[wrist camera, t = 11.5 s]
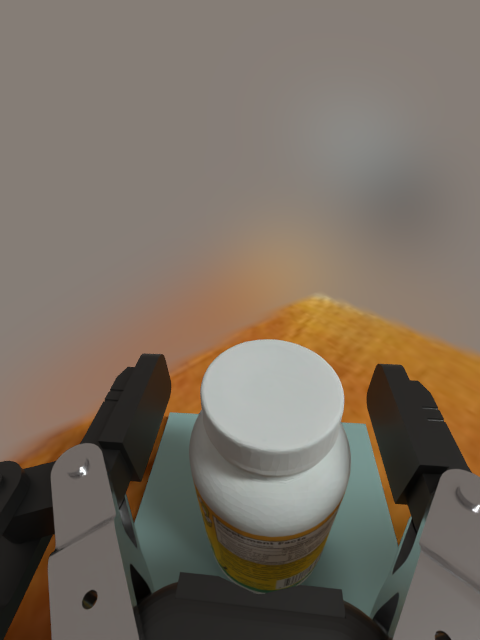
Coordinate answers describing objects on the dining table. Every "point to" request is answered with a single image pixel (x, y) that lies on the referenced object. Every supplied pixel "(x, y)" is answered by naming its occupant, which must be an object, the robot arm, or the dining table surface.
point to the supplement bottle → (269, 461)
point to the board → (193, 545)
